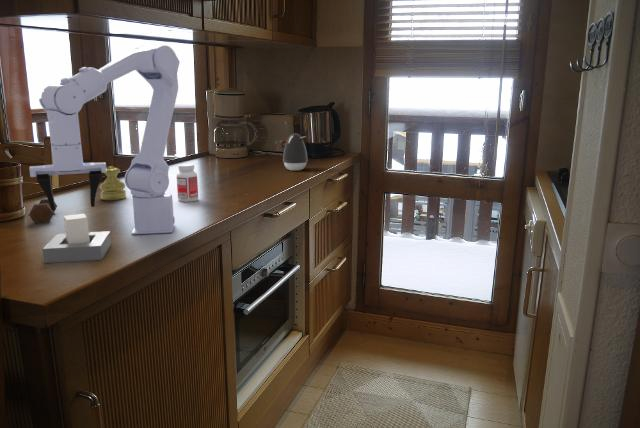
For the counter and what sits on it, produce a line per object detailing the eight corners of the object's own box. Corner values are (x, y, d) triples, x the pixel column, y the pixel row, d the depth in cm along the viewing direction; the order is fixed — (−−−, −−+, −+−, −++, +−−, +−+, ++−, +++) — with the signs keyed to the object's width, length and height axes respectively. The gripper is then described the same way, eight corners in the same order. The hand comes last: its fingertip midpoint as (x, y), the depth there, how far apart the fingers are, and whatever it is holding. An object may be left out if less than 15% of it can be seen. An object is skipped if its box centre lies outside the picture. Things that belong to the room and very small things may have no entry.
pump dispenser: (300, 172, 215) (300, 135, 211) (278, 170, 219) (278, 133, 215) (312, 169, 224) (312, 132, 220) (290, 167, 228) (290, 131, 224)
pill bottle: (198, 197, 167) (196, 163, 165) (198, 201, 162) (196, 166, 159) (178, 198, 166) (175, 163, 163) (177, 202, 160) (175, 166, 157)
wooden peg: (87, 248, 116) (83, 213, 114) (91, 253, 113) (87, 217, 111) (67, 251, 114) (63, 215, 112) (70, 256, 111) (66, 219, 109)
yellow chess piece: (97, 198, 166) (93, 166, 163) (119, 194, 171) (117, 164, 168) (107, 202, 161) (104, 169, 158) (130, 198, 166) (127, 166, 163)
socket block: (111, 244, 119) (110, 231, 119) (101, 259, 109) (100, 245, 108) (58, 246, 117) (57, 233, 116) (44, 263, 107) (42, 248, 106)
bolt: (53, 216, 151) (45, 228, 137) (35, 209, 149) (25, 220, 135) (63, 198, 150) (56, 208, 137) (45, 190, 148) (36, 200, 135)
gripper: (102, 140, 116) (108, 200, 120) (28, 143, 111) (36, 206, 114) (104, 144, 110) (110, 207, 114) (25, 147, 104) (34, 213, 108)
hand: (73, 207), depth 113 cm, fingers open, 7 cm apart
